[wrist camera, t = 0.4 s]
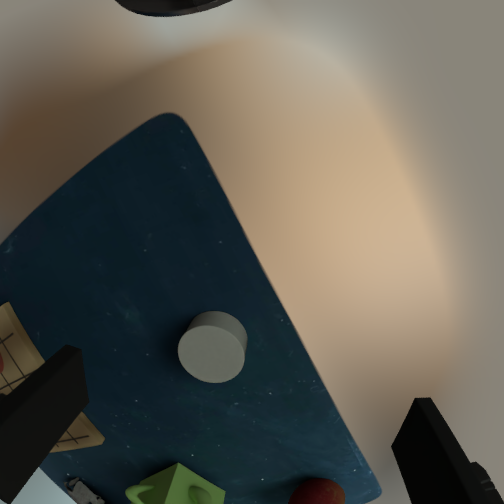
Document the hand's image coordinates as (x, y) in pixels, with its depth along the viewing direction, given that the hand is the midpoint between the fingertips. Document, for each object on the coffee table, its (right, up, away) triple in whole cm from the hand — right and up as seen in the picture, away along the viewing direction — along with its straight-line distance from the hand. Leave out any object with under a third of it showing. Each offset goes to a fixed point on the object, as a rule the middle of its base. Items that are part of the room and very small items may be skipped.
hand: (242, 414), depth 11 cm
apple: (+9, -28, +26) cm, 39 cm away
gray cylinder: (-3, -3, +22) cm, 22 cm away
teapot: (-10, -29, +28) cm, 42 cm away
